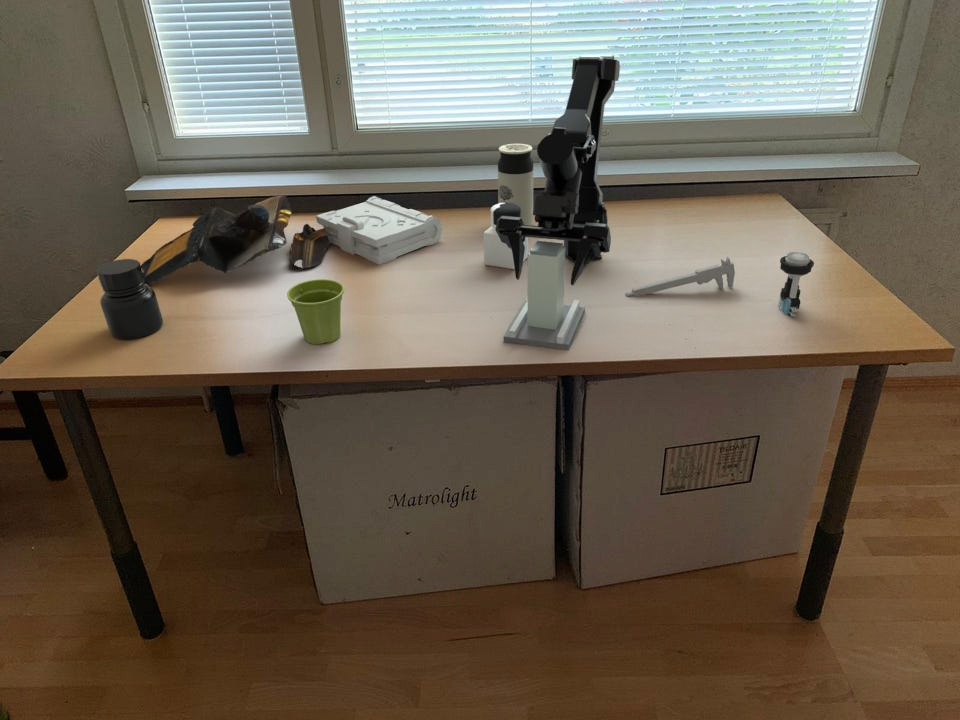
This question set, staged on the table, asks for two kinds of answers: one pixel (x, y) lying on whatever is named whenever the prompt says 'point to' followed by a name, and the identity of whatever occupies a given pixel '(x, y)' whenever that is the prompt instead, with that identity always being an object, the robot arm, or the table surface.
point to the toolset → (237, 240)
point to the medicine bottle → (493, 247)
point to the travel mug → (516, 179)
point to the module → (546, 284)
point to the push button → (793, 280)
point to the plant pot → (318, 309)
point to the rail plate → (545, 336)
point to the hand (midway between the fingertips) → (544, 281)
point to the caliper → (691, 279)
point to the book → (380, 229)
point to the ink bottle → (128, 300)
